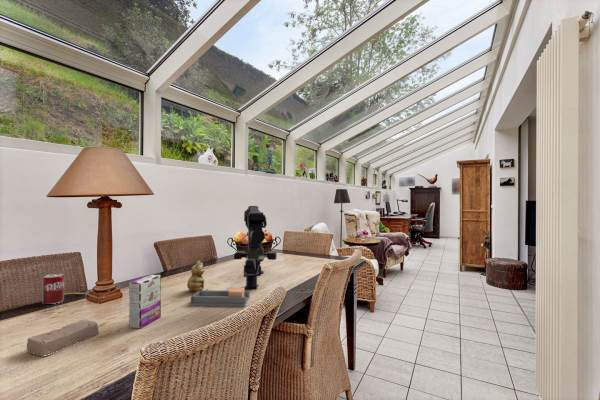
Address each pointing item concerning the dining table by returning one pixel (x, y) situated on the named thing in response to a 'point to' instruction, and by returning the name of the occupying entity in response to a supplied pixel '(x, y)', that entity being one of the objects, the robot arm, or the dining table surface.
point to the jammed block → (236, 292)
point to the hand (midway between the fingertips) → (255, 274)
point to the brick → (61, 337)
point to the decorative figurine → (196, 277)
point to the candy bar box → (144, 301)
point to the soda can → (53, 289)
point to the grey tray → (218, 299)
